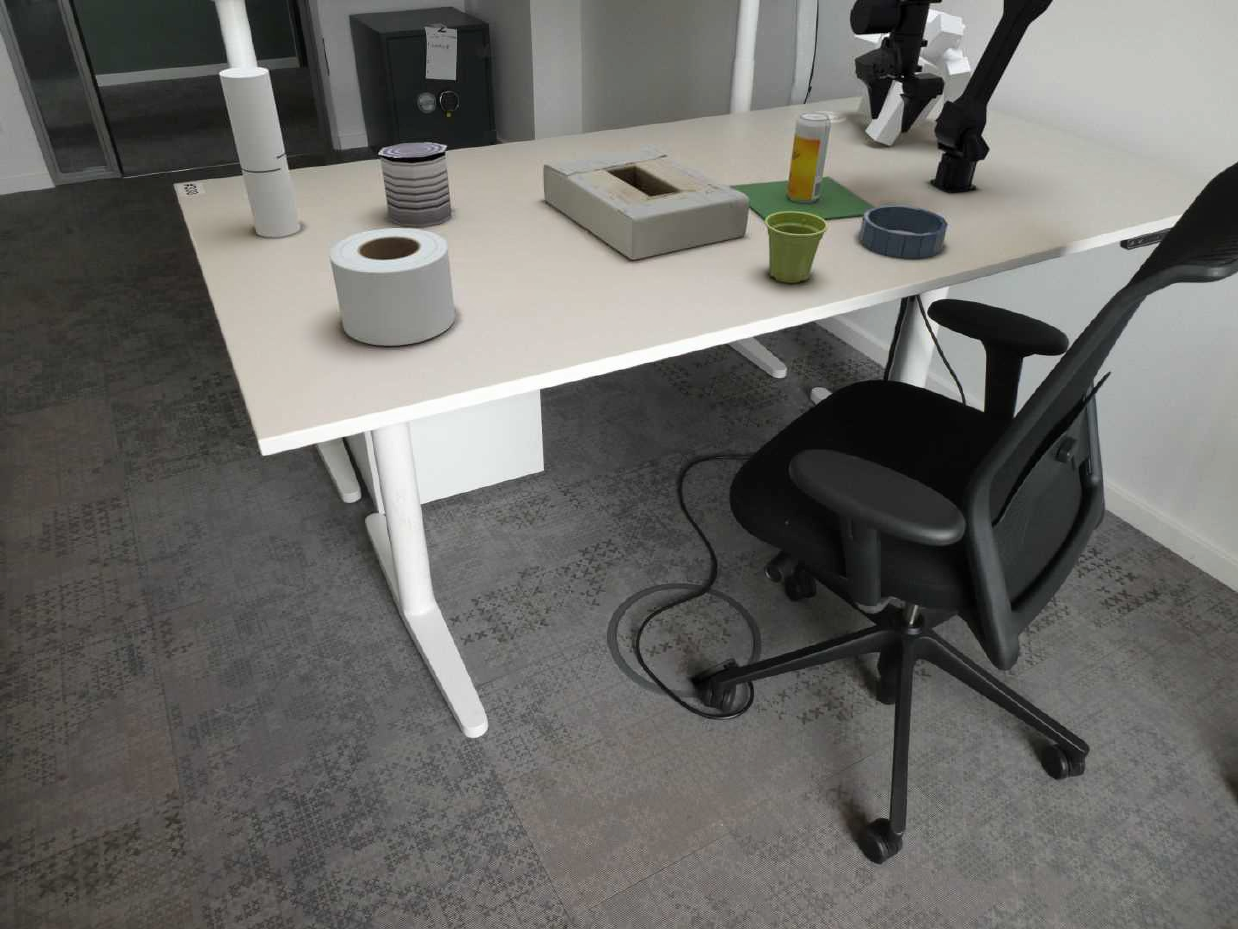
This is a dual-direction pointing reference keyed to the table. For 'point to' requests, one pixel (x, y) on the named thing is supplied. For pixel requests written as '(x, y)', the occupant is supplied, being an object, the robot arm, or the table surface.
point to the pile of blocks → (934, 58)
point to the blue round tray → (903, 243)
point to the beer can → (808, 156)
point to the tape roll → (393, 285)
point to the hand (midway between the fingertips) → (888, 125)
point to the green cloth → (826, 206)
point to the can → (416, 184)
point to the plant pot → (793, 244)
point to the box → (645, 202)
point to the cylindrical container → (260, 150)
